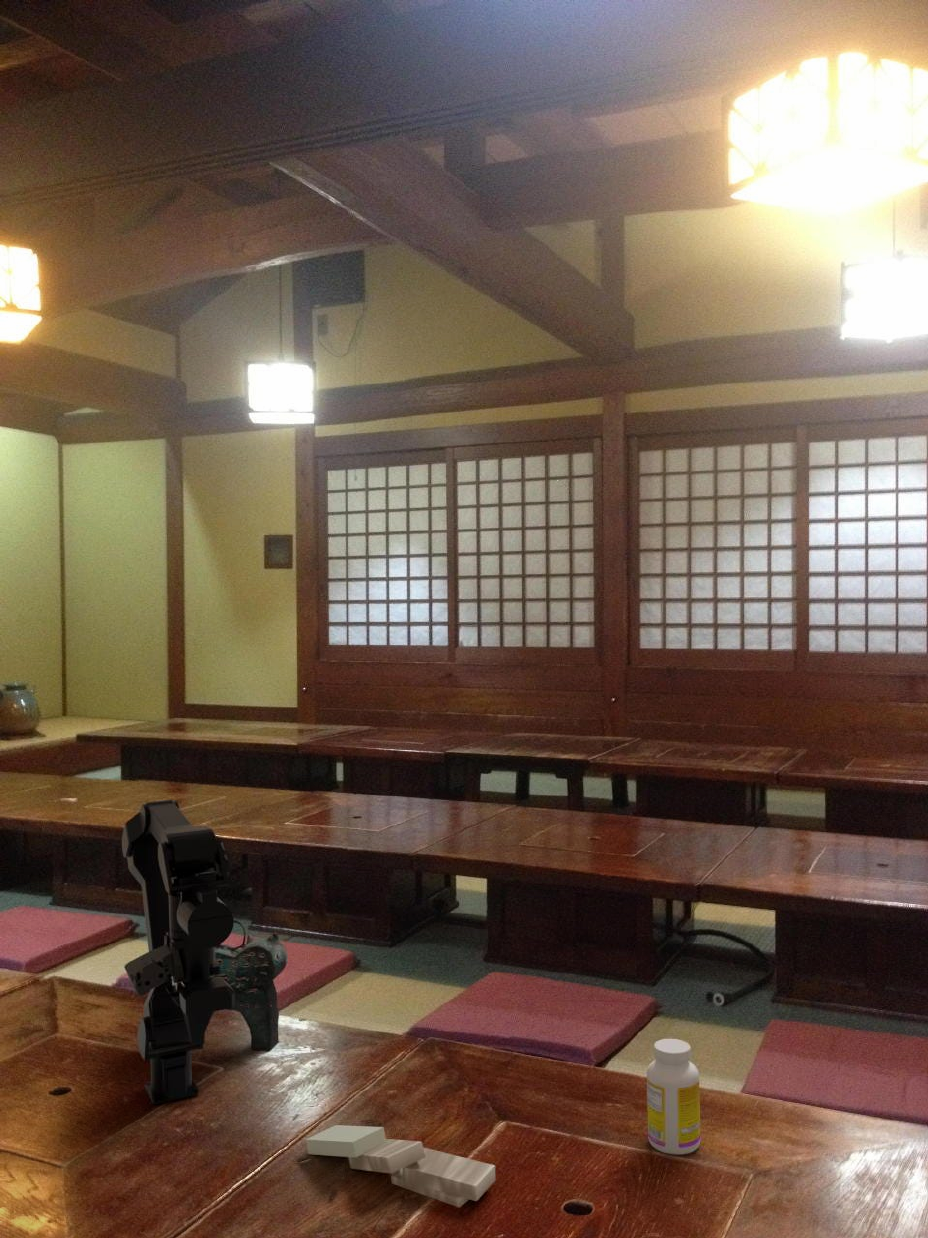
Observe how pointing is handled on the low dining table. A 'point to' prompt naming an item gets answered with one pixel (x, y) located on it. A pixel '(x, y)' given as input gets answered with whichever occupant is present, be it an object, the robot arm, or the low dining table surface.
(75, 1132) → the low dining table surface
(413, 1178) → the ivory domino
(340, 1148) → the sage domino
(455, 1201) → the ivory domino
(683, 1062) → the supplement bottle
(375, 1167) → the ivory domino
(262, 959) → the ceramic cat
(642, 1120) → the low dining table surface
